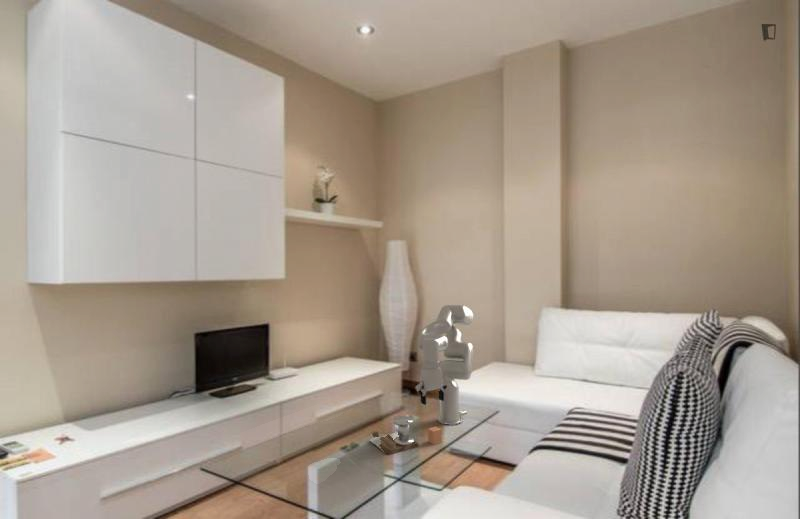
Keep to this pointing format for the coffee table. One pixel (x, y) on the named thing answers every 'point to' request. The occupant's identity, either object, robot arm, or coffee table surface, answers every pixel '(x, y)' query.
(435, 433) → the orange brown block
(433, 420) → the coffee table surface
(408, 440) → the bobbin
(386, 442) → the winding board
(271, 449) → the coffee table surface
